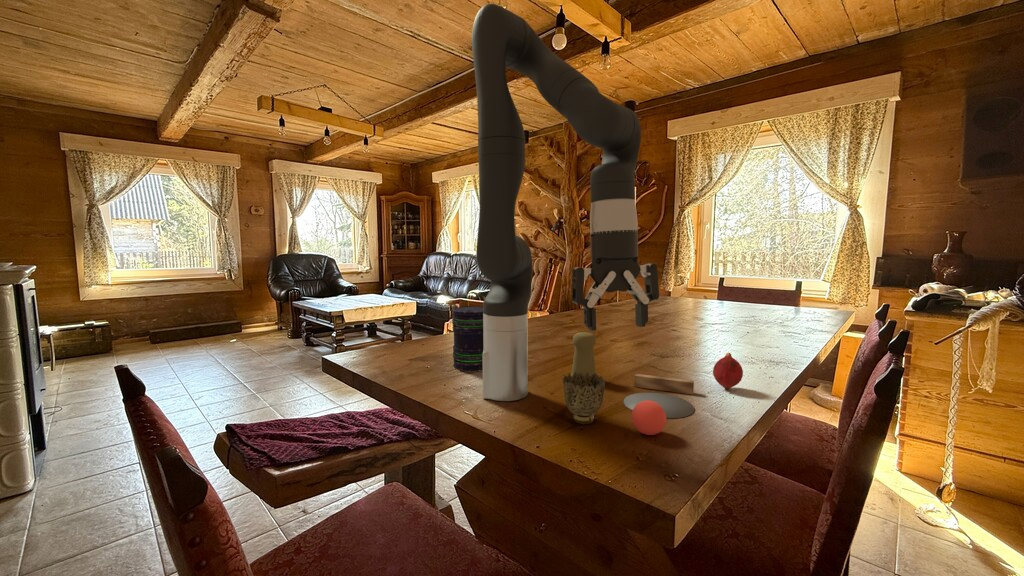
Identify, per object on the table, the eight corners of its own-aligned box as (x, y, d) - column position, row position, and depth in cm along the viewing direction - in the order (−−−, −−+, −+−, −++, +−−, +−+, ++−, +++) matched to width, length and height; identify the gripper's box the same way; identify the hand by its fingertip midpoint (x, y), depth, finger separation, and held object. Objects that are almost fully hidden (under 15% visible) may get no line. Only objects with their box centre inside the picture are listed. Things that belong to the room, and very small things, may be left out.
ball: (636, 441, 69) (637, 407, 69) (627, 426, 75) (628, 395, 74) (670, 441, 69) (672, 407, 69) (659, 426, 75) (660, 395, 74)
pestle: (567, 381, 99) (568, 334, 98) (573, 374, 105) (574, 329, 104) (593, 384, 97) (594, 336, 96) (598, 377, 102) (599, 331, 101)
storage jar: (457, 360, 117) (456, 305, 116) (493, 361, 116) (493, 306, 115) (448, 371, 107) (447, 311, 106) (487, 372, 106) (487, 312, 105)
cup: (558, 413, 80) (559, 371, 79) (597, 412, 81) (598, 370, 80) (567, 431, 73) (567, 385, 72) (609, 429, 74) (610, 383, 73)
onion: (745, 394, 90) (747, 357, 90) (716, 392, 92) (718, 355, 91) (737, 385, 96) (739, 350, 95) (709, 383, 97) (711, 349, 96)
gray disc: (634, 418, 78) (634, 417, 78) (616, 393, 91) (616, 392, 91) (706, 418, 78) (706, 417, 78) (678, 393, 91) (678, 392, 91)
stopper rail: (693, 392, 92) (693, 380, 92) (693, 394, 90) (693, 382, 90) (635, 384, 97) (635, 373, 97) (634, 386, 95) (634, 375, 95)
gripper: (643, 230, 75) (645, 322, 76) (564, 232, 73) (568, 327, 74) (665, 226, 68) (668, 328, 69) (579, 229, 66) (582, 335, 67)
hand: (616, 328), depth 72 cm, fingers open, 8 cm apart
